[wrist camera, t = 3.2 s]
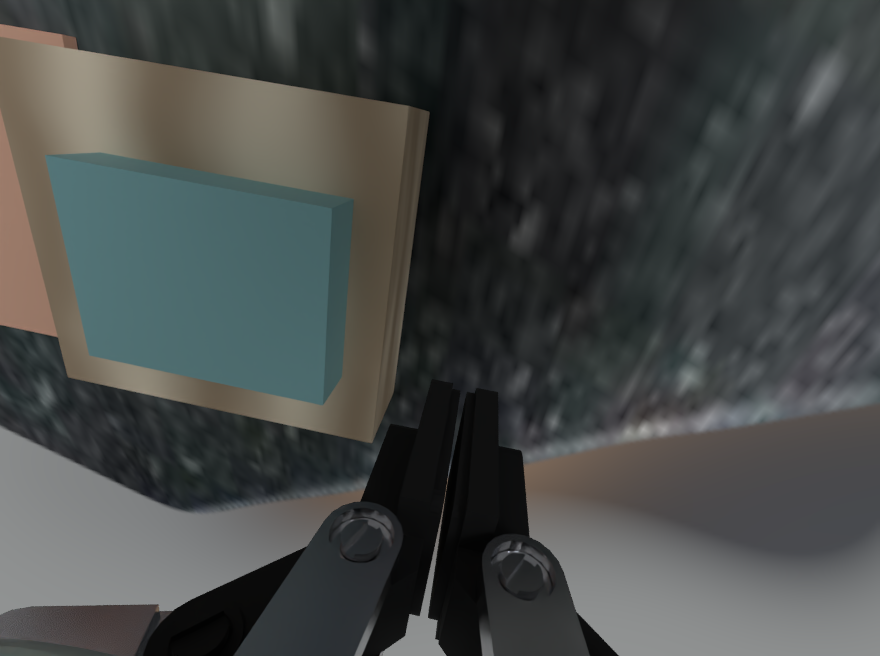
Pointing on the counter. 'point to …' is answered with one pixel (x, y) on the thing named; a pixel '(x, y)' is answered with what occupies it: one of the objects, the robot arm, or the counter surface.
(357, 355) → the platform
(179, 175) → the tile
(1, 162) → the mat
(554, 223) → the counter surface
